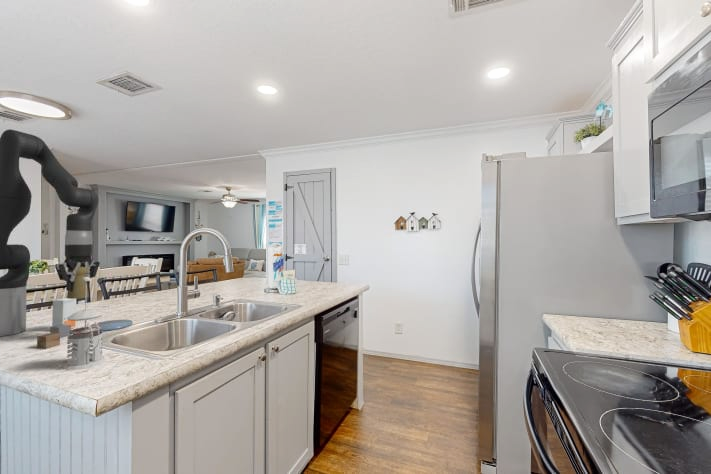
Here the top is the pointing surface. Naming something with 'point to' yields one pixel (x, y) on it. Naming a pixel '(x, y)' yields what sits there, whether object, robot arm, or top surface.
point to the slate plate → (113, 325)
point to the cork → (79, 284)
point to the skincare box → (63, 311)
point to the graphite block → (61, 330)
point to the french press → (84, 340)
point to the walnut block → (48, 340)
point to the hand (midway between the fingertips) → (77, 290)
